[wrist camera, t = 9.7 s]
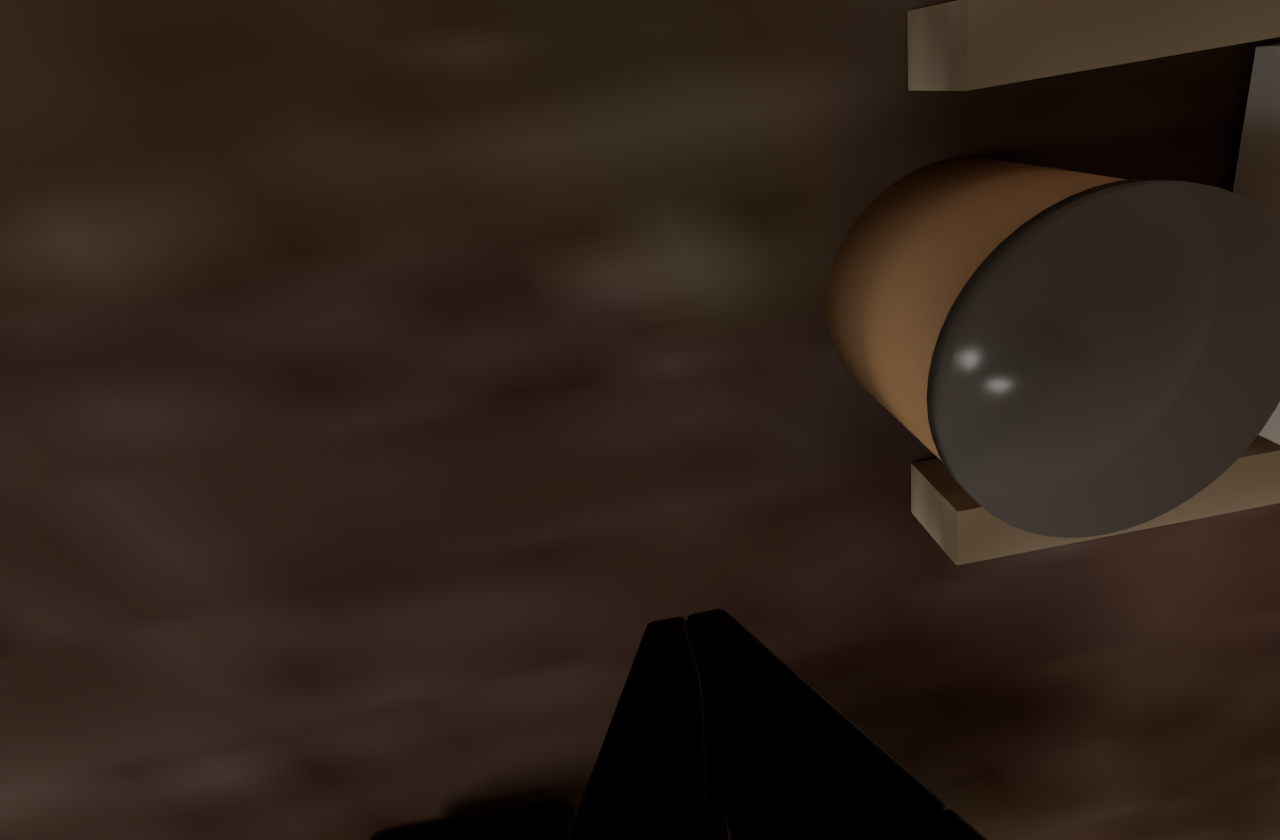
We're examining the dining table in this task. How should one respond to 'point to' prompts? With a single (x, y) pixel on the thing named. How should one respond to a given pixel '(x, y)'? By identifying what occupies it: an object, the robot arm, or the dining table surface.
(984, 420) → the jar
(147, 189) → the dining table surface
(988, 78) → the tan piece
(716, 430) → the dining table surface
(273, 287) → the dining table surface
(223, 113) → the dining table surface
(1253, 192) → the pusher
